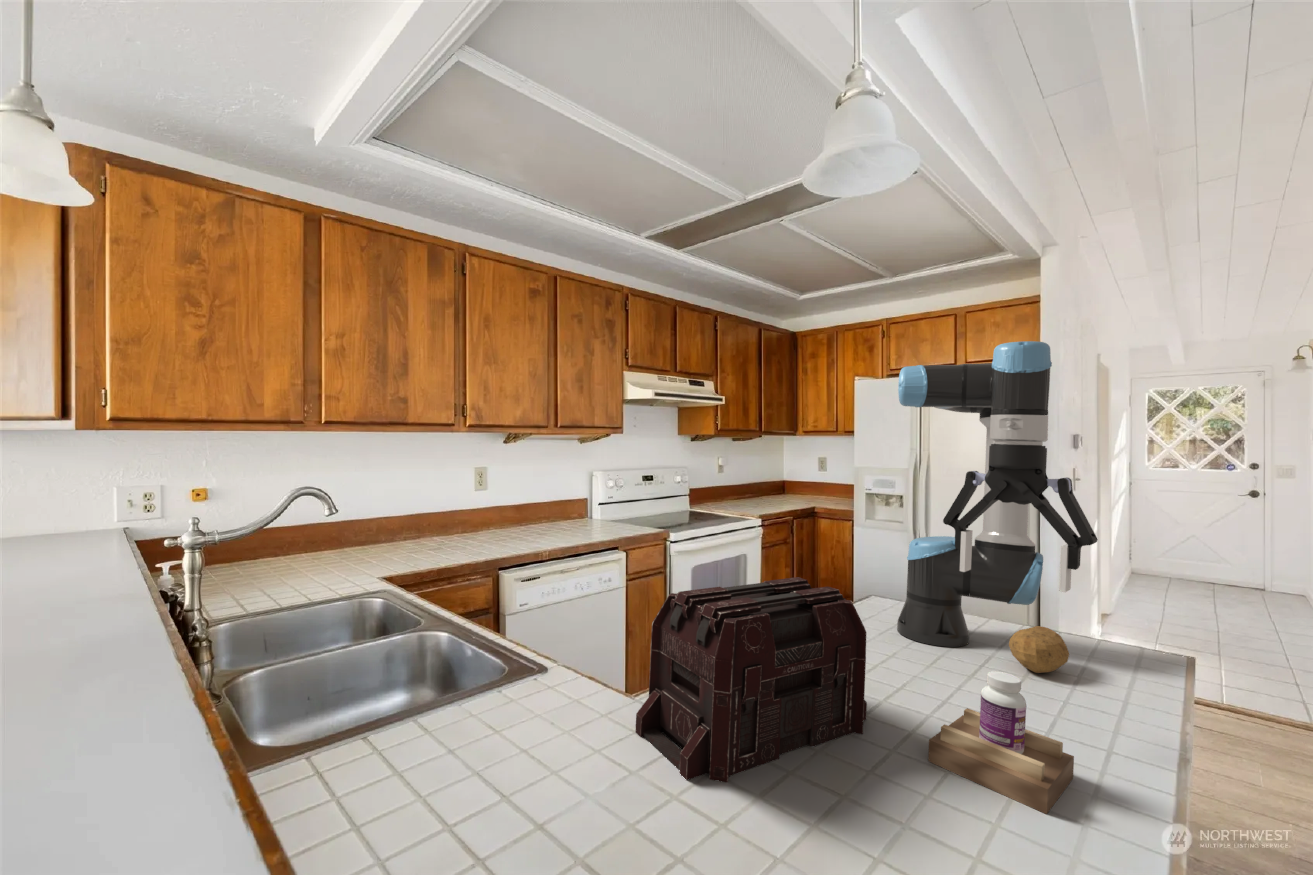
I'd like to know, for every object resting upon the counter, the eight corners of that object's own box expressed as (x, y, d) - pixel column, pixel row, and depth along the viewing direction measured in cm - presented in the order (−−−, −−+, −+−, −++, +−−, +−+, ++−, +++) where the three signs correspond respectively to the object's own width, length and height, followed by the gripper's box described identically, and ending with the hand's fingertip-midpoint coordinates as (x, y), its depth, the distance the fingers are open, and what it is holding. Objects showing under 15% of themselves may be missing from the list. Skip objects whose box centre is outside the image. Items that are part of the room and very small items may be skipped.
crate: (699, 793, 69) (706, 623, 69) (626, 724, 85) (632, 586, 85) (881, 728, 87) (886, 594, 88) (793, 681, 103) (797, 568, 104)
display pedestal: (928, 761, 78) (929, 726, 78) (962, 734, 86) (963, 703, 86) (1046, 814, 68) (1048, 774, 68) (1073, 778, 76) (1074, 742, 76)
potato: (997, 670, 113) (999, 630, 113) (1020, 655, 122) (1021, 618, 122) (1055, 687, 105) (1057, 645, 106) (1075, 670, 115) (1076, 631, 115)
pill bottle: (1024, 762, 73) (1027, 688, 73) (978, 749, 76) (981, 678, 76) (1023, 744, 78) (1026, 675, 78) (979, 732, 81) (982, 665, 81)
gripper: (924, 440, 94) (920, 566, 94) (1114, 447, 75) (1107, 605, 75) (943, 440, 99) (939, 560, 99) (1126, 446, 80) (1120, 595, 80)
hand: (1012, 579), depth 87 cm, fingers open, 13 cm apart
